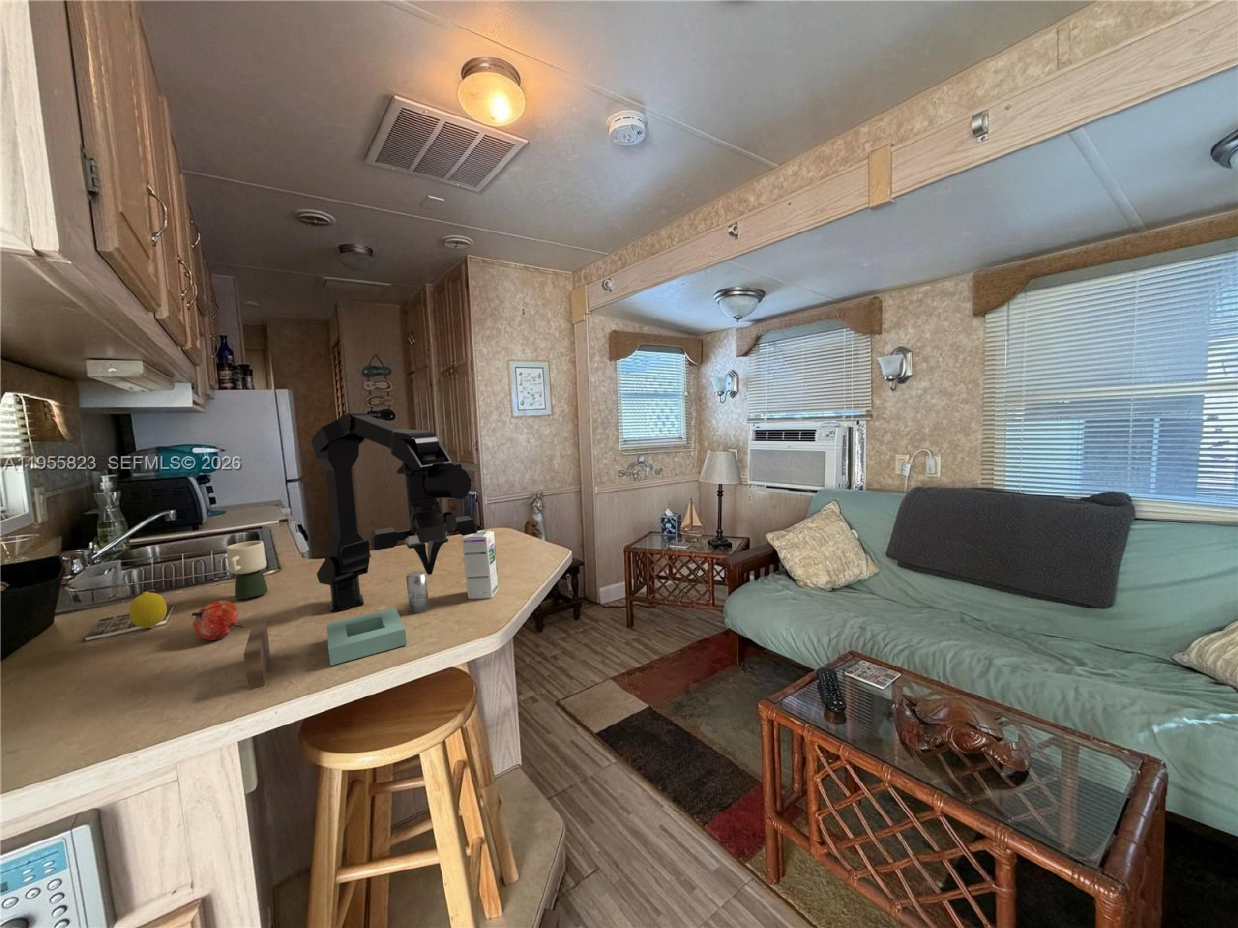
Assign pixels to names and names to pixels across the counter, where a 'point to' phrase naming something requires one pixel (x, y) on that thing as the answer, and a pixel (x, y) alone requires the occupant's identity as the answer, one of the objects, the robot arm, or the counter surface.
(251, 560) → the character mug
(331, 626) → the socket block
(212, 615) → the red rounded lumpy piece
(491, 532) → the syrup box
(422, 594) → the dowel
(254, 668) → the backstop wall
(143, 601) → the lemon
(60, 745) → the counter surface
